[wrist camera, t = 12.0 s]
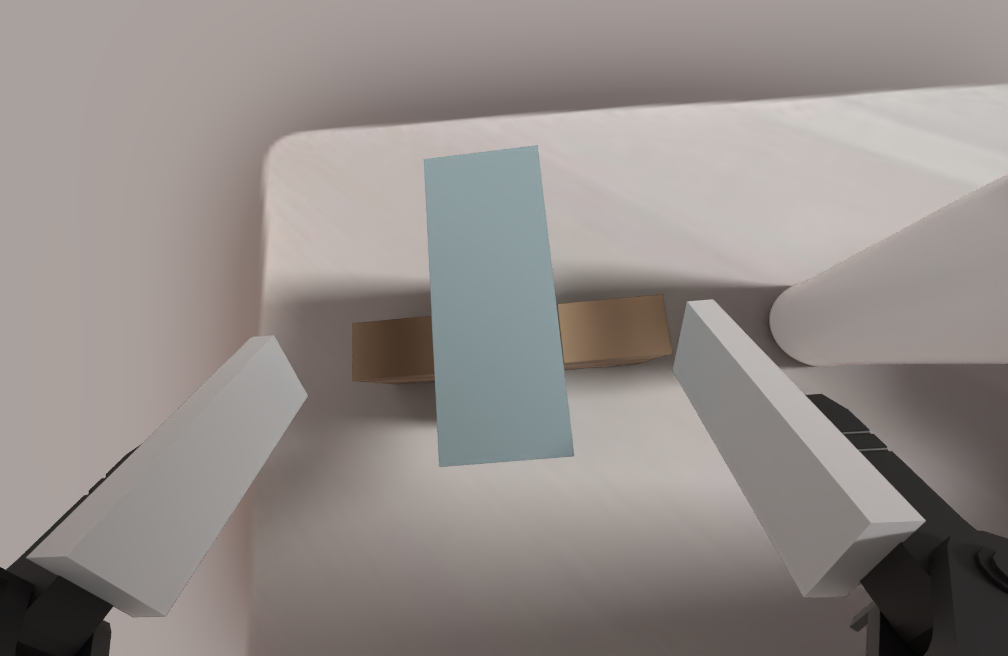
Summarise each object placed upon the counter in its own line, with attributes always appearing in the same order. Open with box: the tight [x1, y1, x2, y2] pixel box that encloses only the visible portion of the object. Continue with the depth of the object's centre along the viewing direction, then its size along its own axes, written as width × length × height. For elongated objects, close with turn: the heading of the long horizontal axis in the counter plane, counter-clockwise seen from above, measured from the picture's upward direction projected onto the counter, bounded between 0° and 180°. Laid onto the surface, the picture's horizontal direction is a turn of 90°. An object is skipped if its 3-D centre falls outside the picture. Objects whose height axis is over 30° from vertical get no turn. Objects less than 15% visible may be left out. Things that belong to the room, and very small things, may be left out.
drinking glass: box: [769, 174, 1008, 367], centre depth 16 cm, size 7×7×15 cm
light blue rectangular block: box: [424, 145, 574, 467], centre depth 17 cm, size 4×9×14 cm, turn 5°
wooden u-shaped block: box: [353, 294, 672, 384], centre depth 21 cm, size 16×3×6 cm, turn 95°
